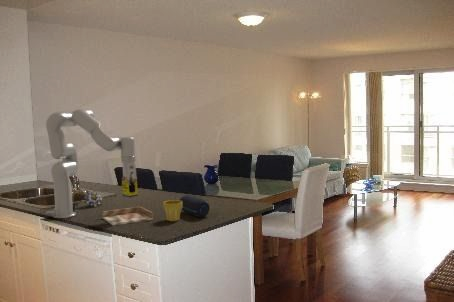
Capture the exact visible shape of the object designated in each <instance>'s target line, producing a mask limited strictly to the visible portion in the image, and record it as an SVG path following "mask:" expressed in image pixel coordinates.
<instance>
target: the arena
mask: <svg viewBox="0 0 454 302" xmlns="http://www.w3.org/2000/svg"><path fill="white" fill-rule="evenodd" d="M102 219H103V220H104V221H106V222H108V223H109V224H110V225H112V226H120V225H127V224H133V223H139V222H146V221H152V220H153V221H154V212H153V211H151V210H149V209H147V208H145V207H143V206H141V205H140V206H133V207H127V208H125V207H124V208H119V209H110V210H103V211H102Z"/></svg>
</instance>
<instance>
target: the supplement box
mask: <svg viewBox="0 0 454 302" xmlns="http://www.w3.org/2000/svg"><path fill="white" fill-rule="evenodd" d="M130 179H132V178H130ZM130 182H131V181H130ZM121 188H122V189H121V191H122V197H124V198H133V197H138V178H137V179H136V180H135V192H129V180H127V178H126V177H123V176H122V177H121Z"/></svg>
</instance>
